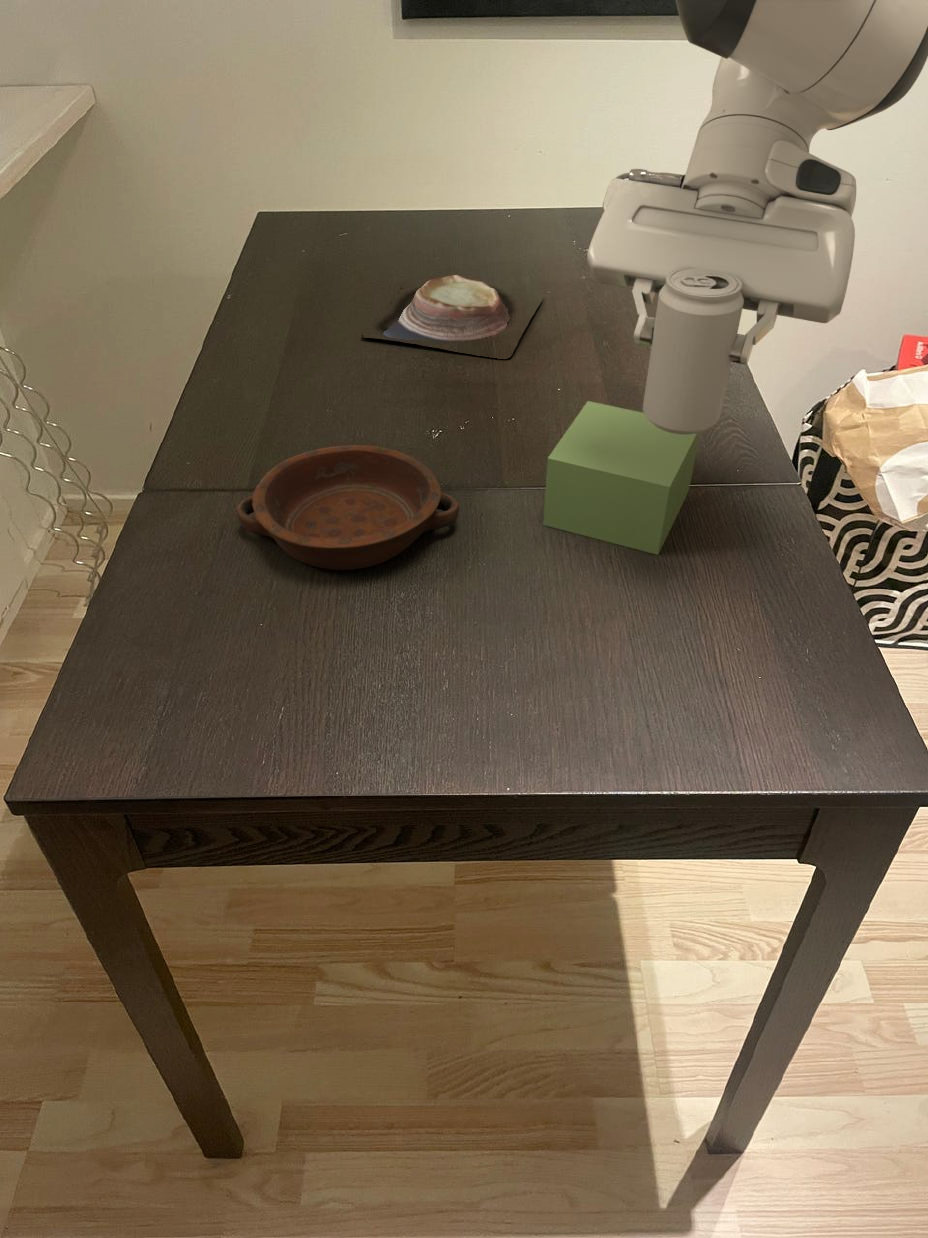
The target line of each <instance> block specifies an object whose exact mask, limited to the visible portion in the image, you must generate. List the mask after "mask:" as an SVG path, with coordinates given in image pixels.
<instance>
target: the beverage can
mask: <svg viewBox="0 0 928 1238" xmlns="http://www.w3.org/2000/svg"><path fill="white" fill-rule="evenodd" d="M705 276H715V277H720V278H723V279H725V280H727V281H728V283H729V285H728V286H727V287H726V288H722V289H710V288H711V287H713V286H714V285H716V281H714V280H713V279H711V278H707V277H705ZM741 288H742V282H741V280H740V279H739V278H738V277H737V276H736V275H734V274H732V273H723V272H720V271H714V270H708V269H701V268H695V267H692V266H689V267H683V268H679V269H676V270H673V271H672V272H670V273H669V274H668V275H667V277H666V284H665V285H664V286H663V287H662V289H661V290H660V292H659V294H658V297H657V306H656V313H655V317H654V318H655V325H654V332H653V339H652V346H650V354H649V361H648V368H647V374H646V381H645V389H644V395H643V403H642V413H644V415H645V416H646V417H647V419H648V420H650V421H651V423H652V424H653V425H654V426H655V427H657V428H659V429H661V430H663V431H666V432H669V433H673V434H681V435H689V434H696V433H700V434H701V433H702V432H705V431H706V430H708V429H710V428H712V427H714V426H715V425H716V424H717V423H718V422H719V420H720V418H721V415H722V409H723V405H724V399H725V395H726V391H727V386H728V380H729V376H730V370H731V366H732V362H731V361H730V358H729V352H730V350H731V348H732V345H733V343H734V341H735V338H736V335H737V334H739V328H740V323H741V317H742V313H743V309H742V308H743V304H744V298H743V296H742V293H741Z"/></svg>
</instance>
